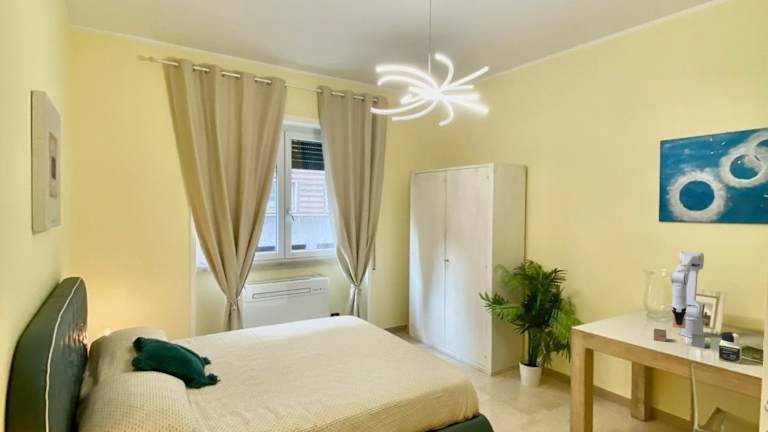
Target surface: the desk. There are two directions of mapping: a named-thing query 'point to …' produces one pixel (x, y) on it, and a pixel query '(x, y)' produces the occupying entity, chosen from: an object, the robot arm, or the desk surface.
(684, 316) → the terracotta cube
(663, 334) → the walnut cube
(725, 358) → the medicine bottle
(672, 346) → the desk surface
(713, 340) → the sage cube
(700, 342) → the slate cube
